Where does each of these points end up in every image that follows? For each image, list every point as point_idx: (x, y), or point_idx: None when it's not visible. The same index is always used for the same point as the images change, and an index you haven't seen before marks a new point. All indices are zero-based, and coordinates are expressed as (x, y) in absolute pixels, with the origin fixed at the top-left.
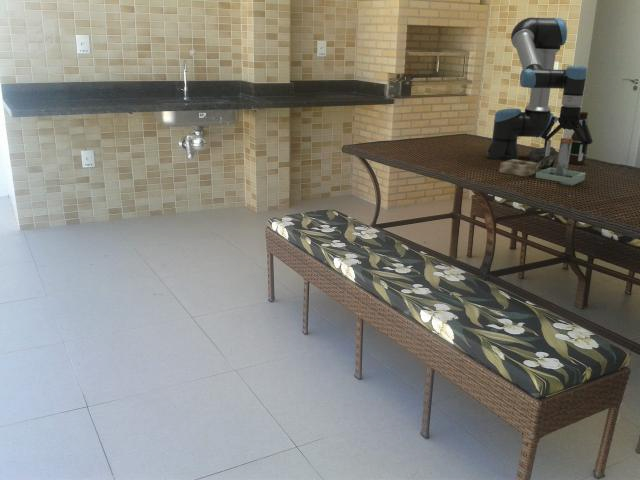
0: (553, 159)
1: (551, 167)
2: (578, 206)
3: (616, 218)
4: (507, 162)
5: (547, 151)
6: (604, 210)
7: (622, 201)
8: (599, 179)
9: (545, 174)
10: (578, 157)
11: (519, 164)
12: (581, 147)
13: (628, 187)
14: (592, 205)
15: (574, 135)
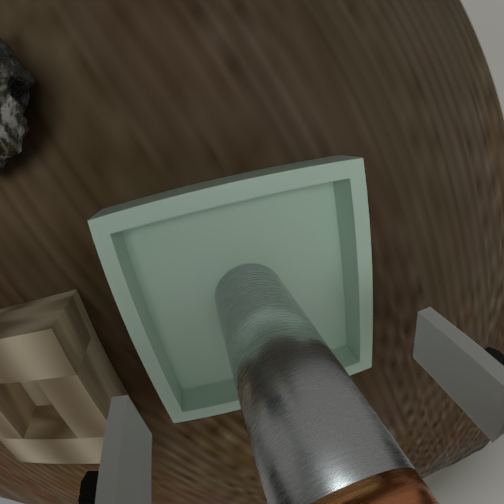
0: (7, 90)
1: (28, 89)
2: (423, 456)
3: (477, 434)
4: (14, 440)
5: (150, 468)
6: (465, 428)
7: (498, 345)
8: (375, 61)
9: (226, 410)
10: (428, 372)
11: (66, 443)
12: (489, 421)
13: (497, 140)
14: (446, 430)
15: None
